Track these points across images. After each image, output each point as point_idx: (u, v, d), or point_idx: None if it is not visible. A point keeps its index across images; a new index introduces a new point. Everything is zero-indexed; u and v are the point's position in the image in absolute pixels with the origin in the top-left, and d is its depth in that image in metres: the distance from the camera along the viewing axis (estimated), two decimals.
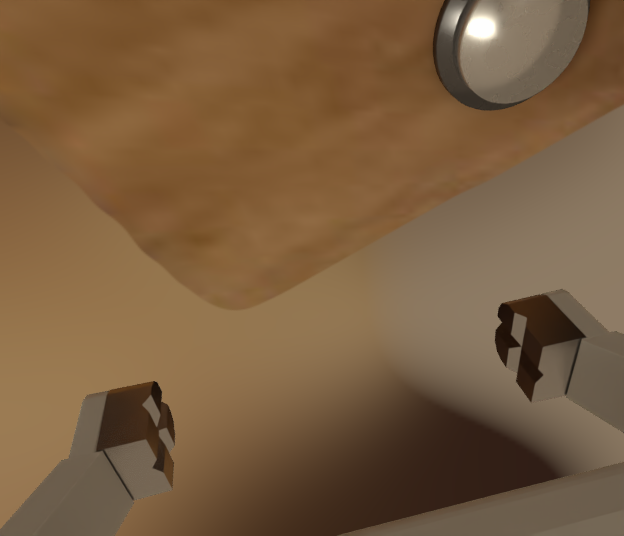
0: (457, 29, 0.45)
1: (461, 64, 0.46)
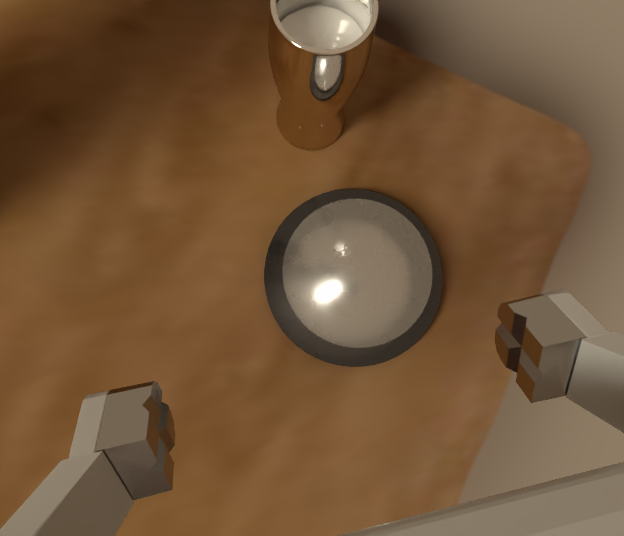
0: (291, 309, 0.40)
1: (315, 333, 0.39)
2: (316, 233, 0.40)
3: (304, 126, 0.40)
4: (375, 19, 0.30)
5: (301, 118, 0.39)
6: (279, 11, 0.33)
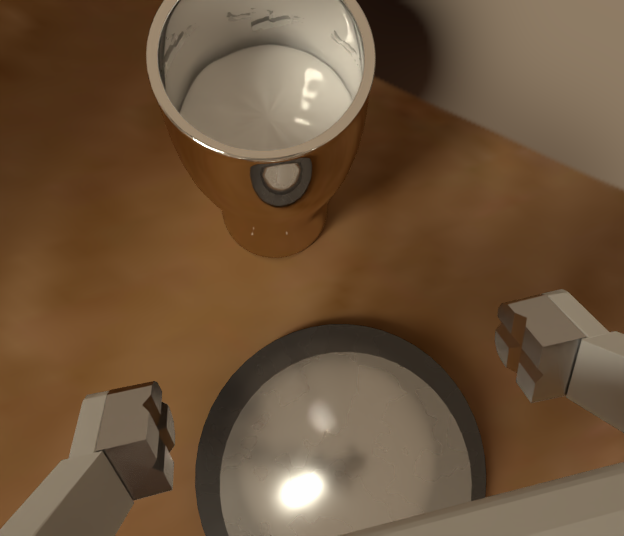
0: None
1: None
2: (277, 414, 0.24)
3: (259, 234, 0.25)
4: (369, 83, 0.14)
5: (250, 227, 0.23)
6: (189, 59, 0.18)
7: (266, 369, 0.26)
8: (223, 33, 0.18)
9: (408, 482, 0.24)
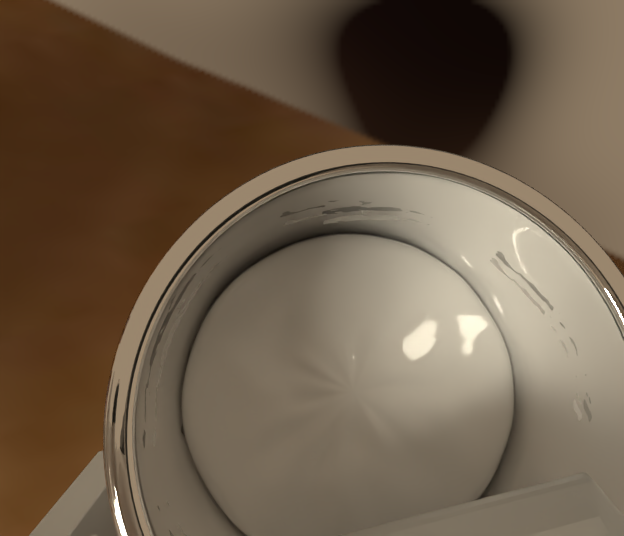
0: None
1: None
2: None
3: None
4: None
5: None
6: (206, 289, 0.09)
7: None
8: (269, 235, 0.09)
9: None
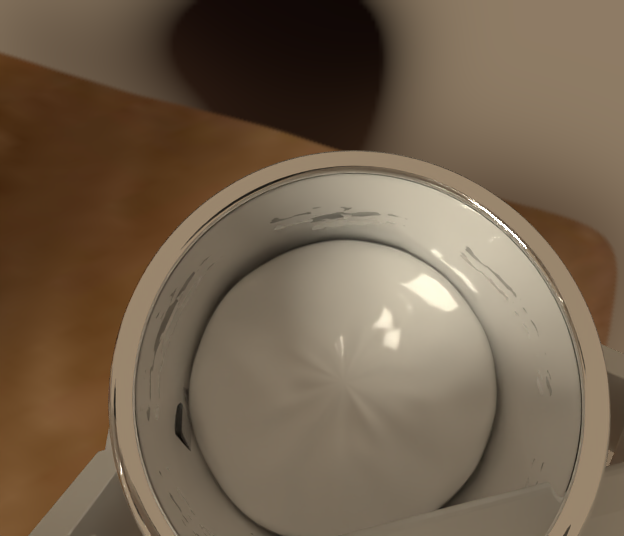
0: None
1: None
2: None
3: None
4: (604, 447, 0.06)
5: None
6: (207, 291, 0.10)
7: None
8: (263, 241, 0.10)
9: None
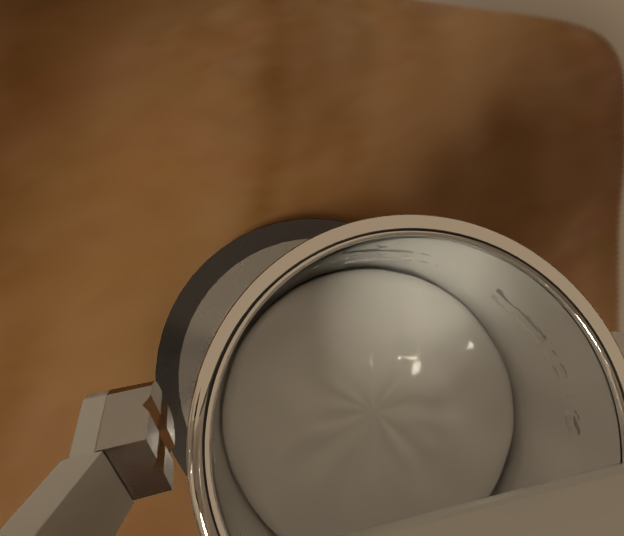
0: None
1: None
2: None
3: None
4: None
5: None
6: None
7: (204, 294, 0.24)
8: (298, 275, 0.11)
9: None
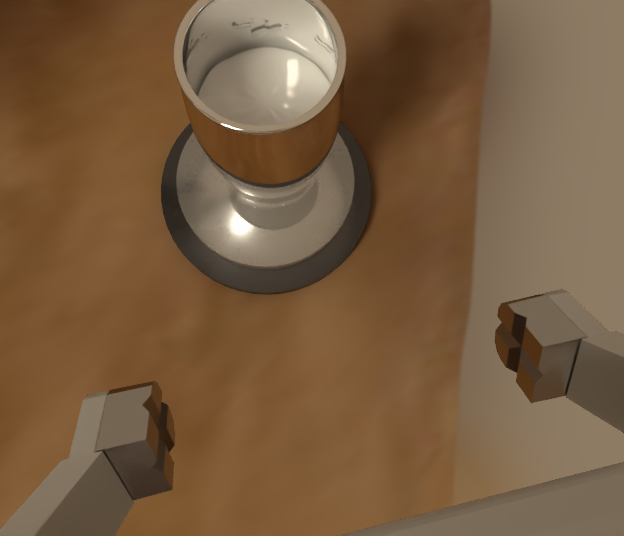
0: (206, 246, 0.34)
1: (238, 262, 0.33)
2: None
3: (260, 206, 0.29)
4: (341, 74, 0.19)
5: (252, 199, 0.28)
6: (203, 59, 0.22)
7: None
8: (229, 39, 0.22)
9: None
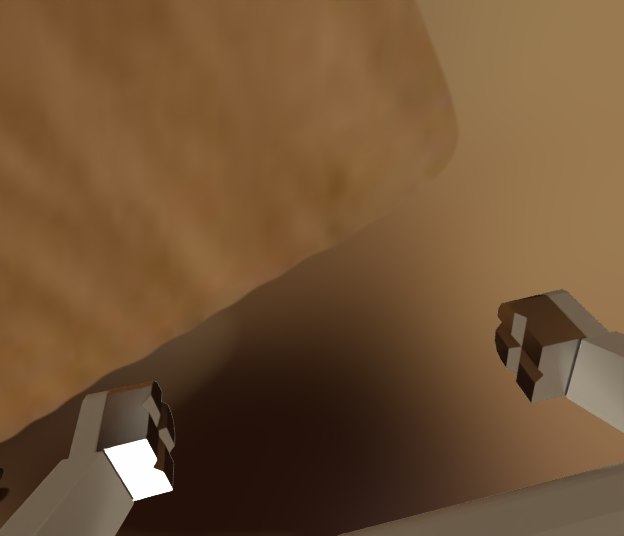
0: None
1: None
2: None
3: None
4: None
5: None
6: None
7: None
8: None
9: None
